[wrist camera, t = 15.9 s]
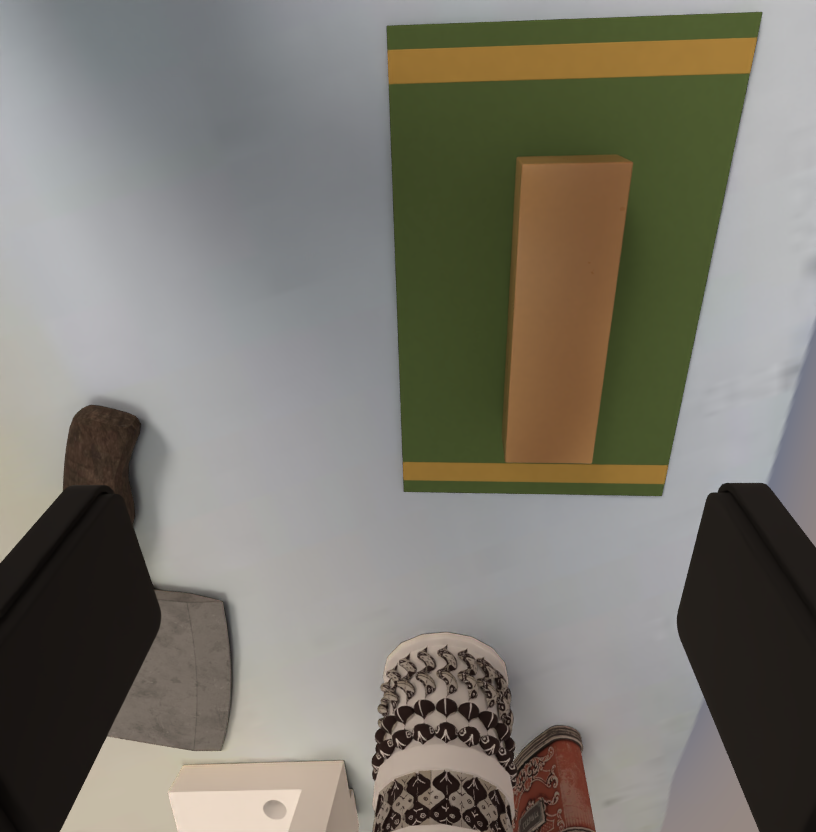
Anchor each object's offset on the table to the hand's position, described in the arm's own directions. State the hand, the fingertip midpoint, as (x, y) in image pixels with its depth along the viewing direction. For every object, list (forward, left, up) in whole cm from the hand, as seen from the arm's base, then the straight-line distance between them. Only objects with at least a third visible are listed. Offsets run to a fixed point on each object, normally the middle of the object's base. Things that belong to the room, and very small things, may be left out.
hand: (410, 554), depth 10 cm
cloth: (+5, +3, -21) cm, 21 cm away
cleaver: (+8, -28, -21) cm, 36 cm away
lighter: (+35, -15, -21) cm, 43 cm away
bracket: (+27, -35, -21) cm, 49 cm away
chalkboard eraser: (+5, +3, -20) cm, 21 cm away
